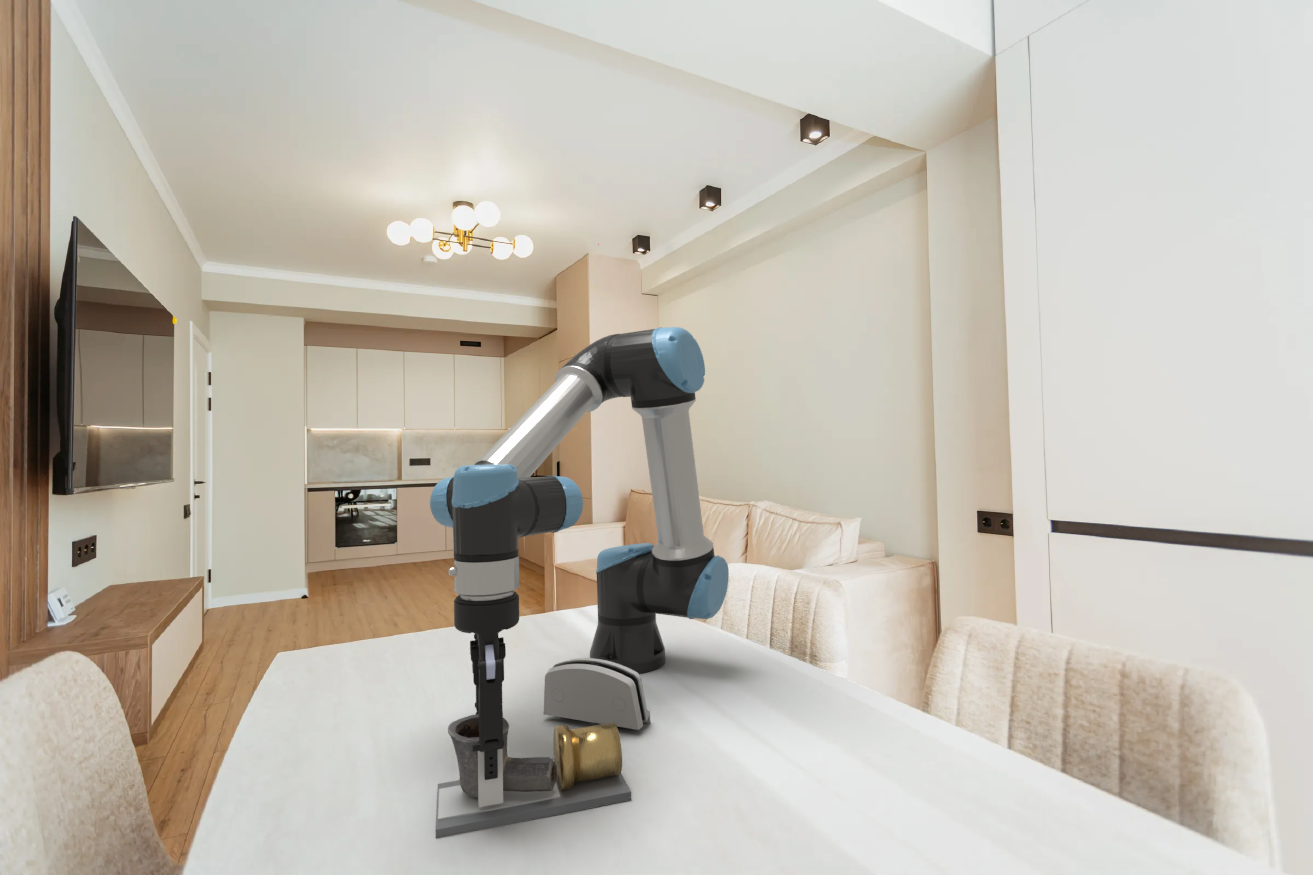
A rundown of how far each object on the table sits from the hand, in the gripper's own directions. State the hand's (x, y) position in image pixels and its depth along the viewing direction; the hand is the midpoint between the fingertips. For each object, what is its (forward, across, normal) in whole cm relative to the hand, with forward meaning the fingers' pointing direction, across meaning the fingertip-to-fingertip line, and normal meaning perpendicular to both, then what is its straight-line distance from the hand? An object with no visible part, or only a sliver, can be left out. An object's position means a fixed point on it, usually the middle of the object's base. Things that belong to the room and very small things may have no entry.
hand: (489, 788), depth 74 cm
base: (+2, 0, +5) cm, 5 cm away
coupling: (+2, 0, +13) cm, 13 cm away
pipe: (+1, 0, +2) cm, 2 cm away
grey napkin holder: (+2, -18, +17) cm, 25 cm away
